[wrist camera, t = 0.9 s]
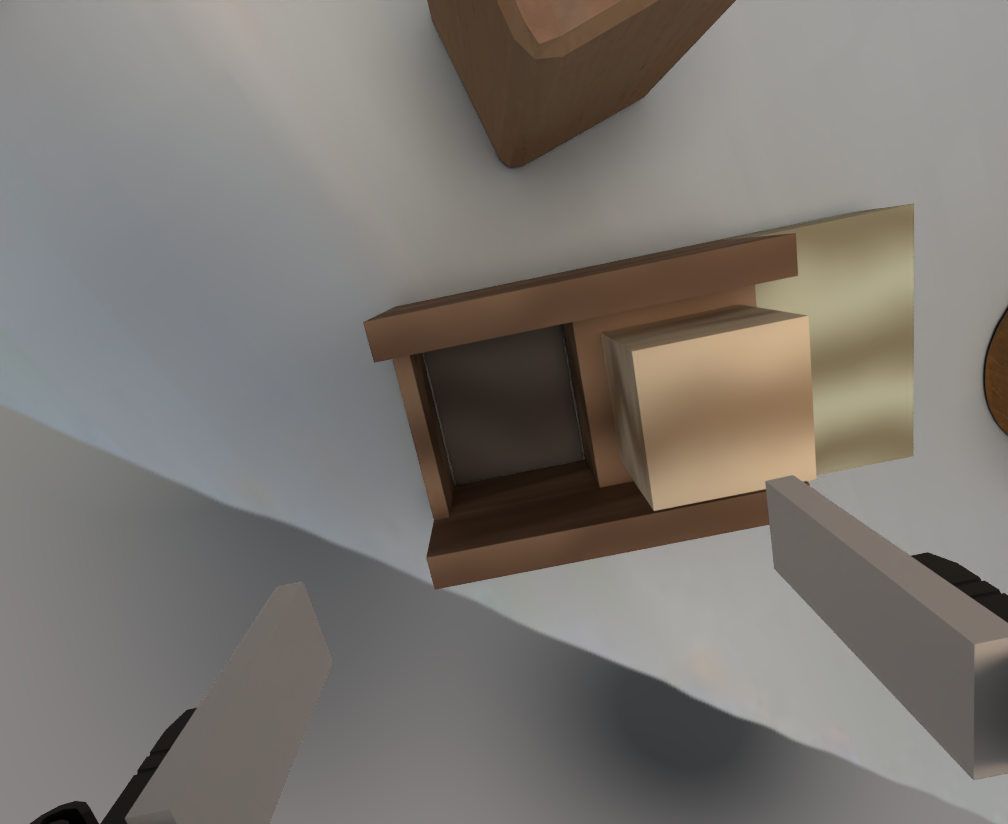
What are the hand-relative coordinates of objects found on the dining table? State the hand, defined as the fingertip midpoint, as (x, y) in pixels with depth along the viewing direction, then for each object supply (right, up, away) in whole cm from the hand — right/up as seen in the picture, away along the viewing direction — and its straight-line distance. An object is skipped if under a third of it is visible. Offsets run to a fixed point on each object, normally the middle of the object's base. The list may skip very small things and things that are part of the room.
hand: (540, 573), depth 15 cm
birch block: (+9, +6, +17) cm, 20 cm away
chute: (+8, +7, +22) cm, 24 cm away
